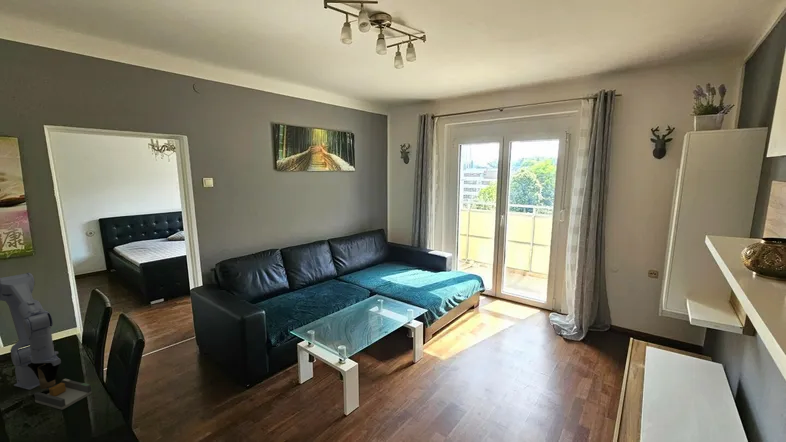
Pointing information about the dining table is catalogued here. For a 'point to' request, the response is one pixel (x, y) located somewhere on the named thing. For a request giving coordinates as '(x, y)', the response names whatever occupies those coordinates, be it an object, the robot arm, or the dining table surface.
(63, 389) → the block
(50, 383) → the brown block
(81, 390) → the grey tray
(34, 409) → the dining table surface
